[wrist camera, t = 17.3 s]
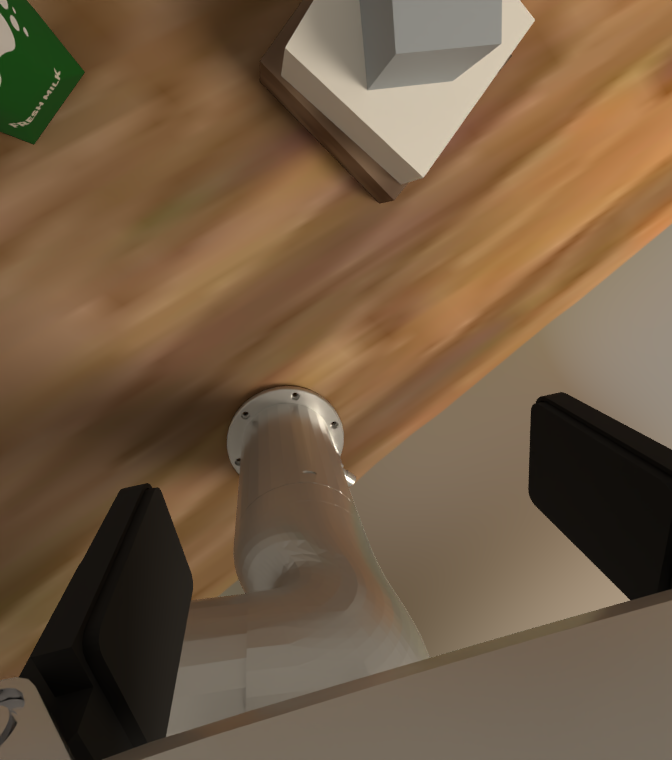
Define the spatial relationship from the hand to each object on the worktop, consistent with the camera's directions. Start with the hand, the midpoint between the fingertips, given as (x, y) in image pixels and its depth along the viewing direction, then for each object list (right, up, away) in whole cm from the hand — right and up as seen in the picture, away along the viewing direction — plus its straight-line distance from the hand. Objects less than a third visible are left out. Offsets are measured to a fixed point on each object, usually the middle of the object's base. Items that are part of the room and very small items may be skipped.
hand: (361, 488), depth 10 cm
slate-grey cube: (+4, +25, +16) cm, 30 cm away
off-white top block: (+4, +27, +21) cm, 34 cm away
